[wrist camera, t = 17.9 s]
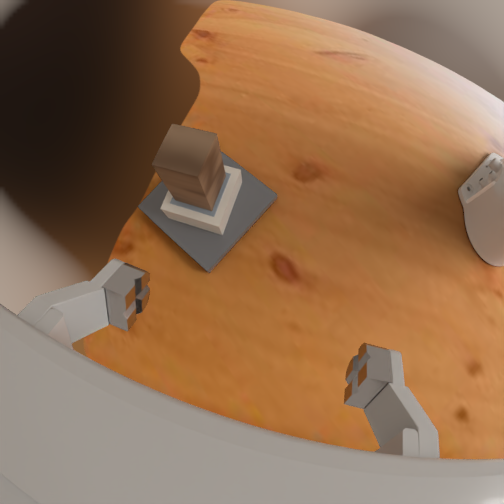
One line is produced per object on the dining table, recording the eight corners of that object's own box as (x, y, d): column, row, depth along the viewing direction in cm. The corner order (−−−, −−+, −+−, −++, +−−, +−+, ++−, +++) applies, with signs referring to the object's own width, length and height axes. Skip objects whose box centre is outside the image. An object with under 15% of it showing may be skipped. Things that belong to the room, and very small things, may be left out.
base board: (206, 144, 47) (200, 123, 42) (276, 198, 45) (279, 182, 40) (141, 209, 45) (127, 196, 40) (209, 273, 43) (202, 266, 38)
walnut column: (189, 166, 40) (172, 123, 31) (226, 175, 40) (216, 133, 30) (175, 200, 40) (151, 164, 30) (212, 211, 39) (197, 176, 29)
